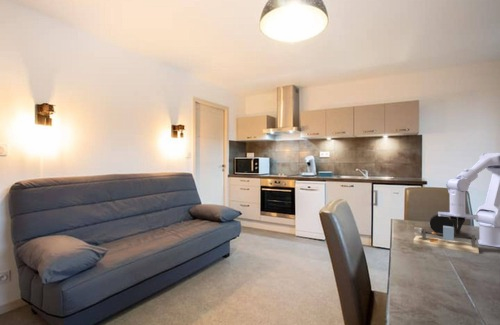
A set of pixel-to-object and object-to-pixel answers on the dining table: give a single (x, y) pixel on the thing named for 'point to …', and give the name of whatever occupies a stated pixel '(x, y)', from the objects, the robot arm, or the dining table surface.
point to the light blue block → (448, 233)
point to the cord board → (445, 241)
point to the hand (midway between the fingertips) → (457, 233)
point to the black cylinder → (439, 223)
